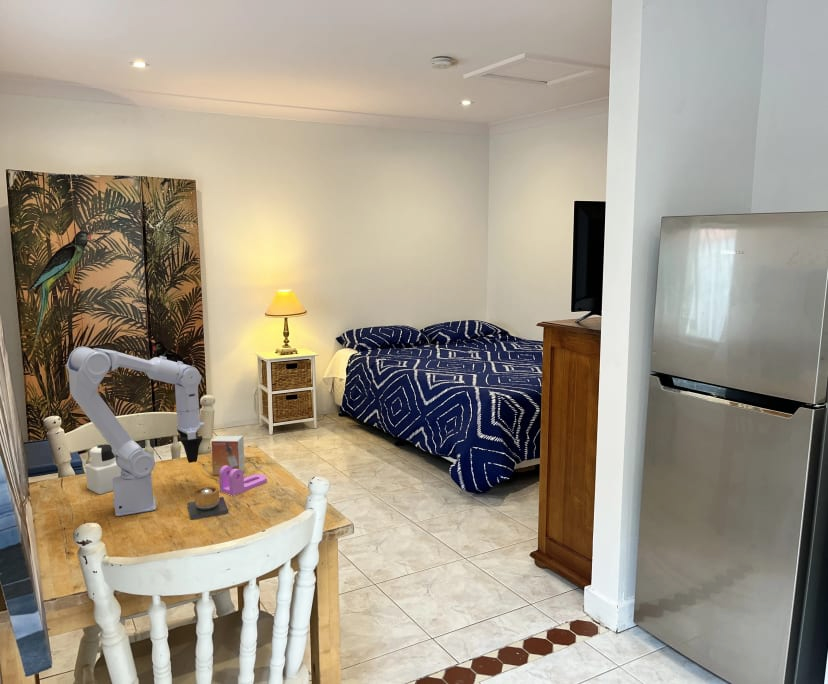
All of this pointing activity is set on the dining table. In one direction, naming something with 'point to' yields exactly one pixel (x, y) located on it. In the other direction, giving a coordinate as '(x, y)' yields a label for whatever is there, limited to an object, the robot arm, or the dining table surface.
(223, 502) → the stand
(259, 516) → the dining table surface
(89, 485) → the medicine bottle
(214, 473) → the small box
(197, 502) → the wooden ring
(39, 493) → the dining table surface
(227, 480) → the bracket
